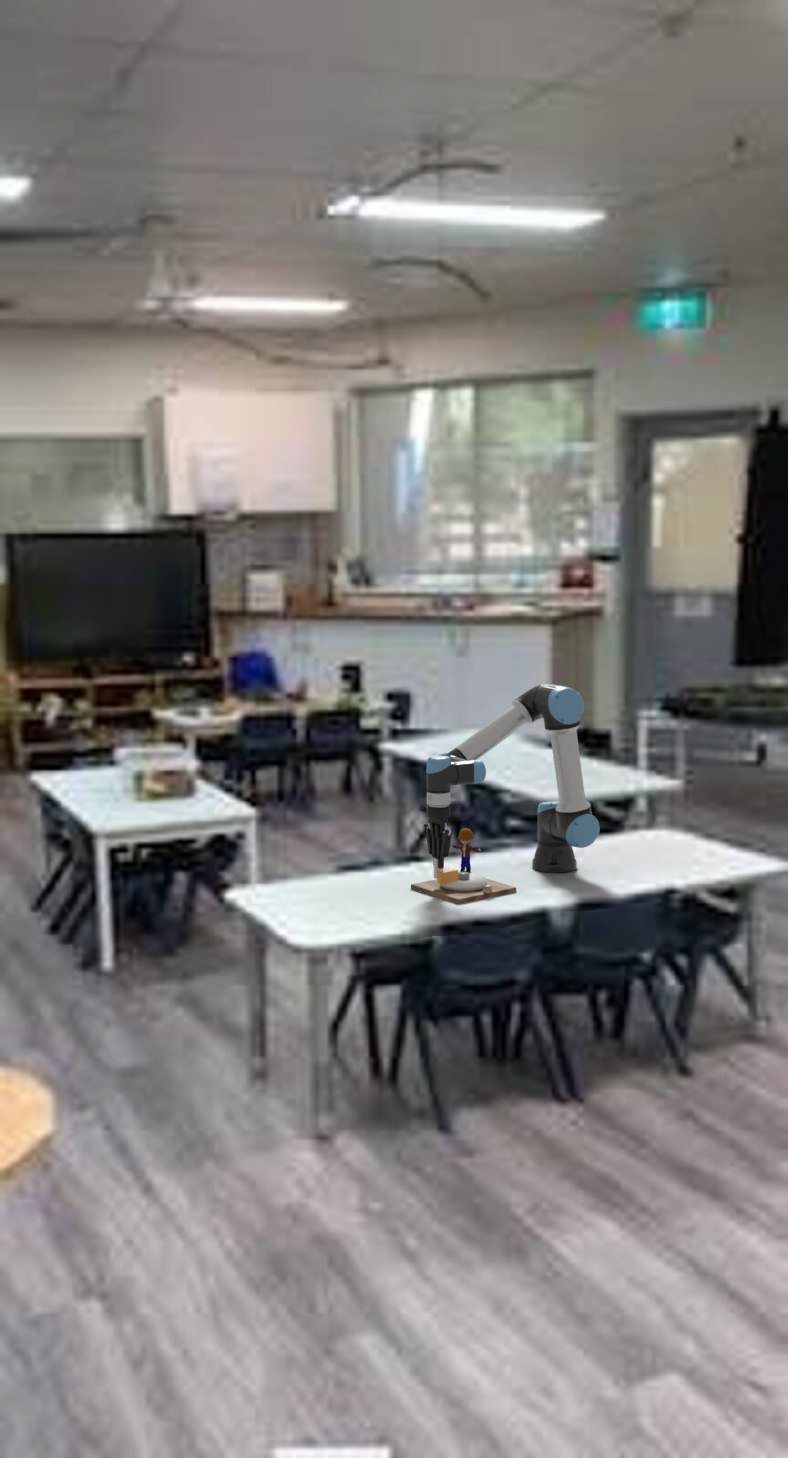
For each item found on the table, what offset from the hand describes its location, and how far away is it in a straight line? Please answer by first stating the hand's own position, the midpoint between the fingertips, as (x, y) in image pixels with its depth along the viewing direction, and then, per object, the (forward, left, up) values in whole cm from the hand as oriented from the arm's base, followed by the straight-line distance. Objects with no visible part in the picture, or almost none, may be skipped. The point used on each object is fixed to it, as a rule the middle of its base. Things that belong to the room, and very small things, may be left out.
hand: (438, 877), depth 459 cm
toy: (-25, -16, -5) cm, 30 cm away
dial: (-7, +3, -3) cm, 8 cm away
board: (-8, +3, -5) cm, 10 cm away
